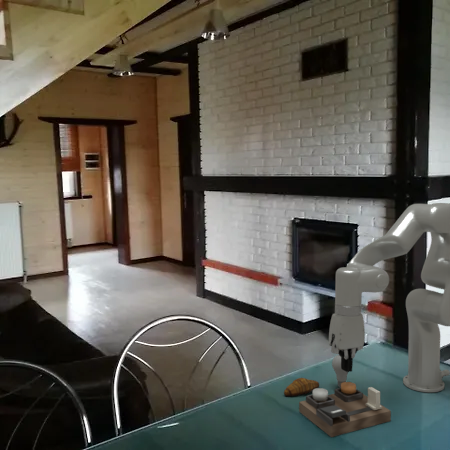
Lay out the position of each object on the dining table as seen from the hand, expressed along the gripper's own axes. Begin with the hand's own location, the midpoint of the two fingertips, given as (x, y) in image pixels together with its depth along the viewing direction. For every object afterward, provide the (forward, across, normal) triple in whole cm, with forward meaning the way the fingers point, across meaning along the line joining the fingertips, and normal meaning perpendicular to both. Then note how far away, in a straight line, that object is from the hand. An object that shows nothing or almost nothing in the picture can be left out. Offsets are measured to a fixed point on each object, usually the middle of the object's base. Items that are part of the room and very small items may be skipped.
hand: (346, 370), depth 149 cm
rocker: (+7, +11, +9) cm, 16 cm away
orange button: (+6, -1, 0) cm, 7 cm away
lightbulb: (+11, -7, -12) cm, 18 cm away
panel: (+11, +4, +4) cm, 13 cm away
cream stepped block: (+8, -3, +9) cm, 12 cm away
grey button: (+7, +9, 0) cm, 11 cm away
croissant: (+12, +6, -15) cm, 20 cm away
